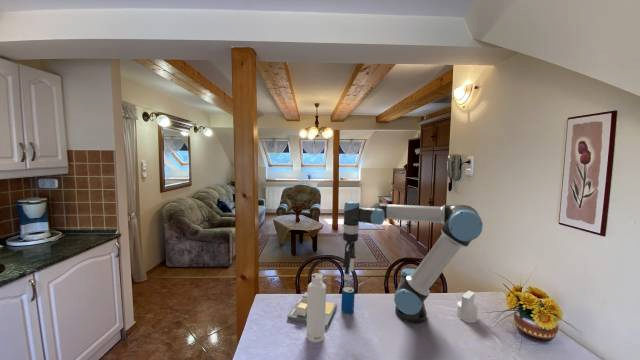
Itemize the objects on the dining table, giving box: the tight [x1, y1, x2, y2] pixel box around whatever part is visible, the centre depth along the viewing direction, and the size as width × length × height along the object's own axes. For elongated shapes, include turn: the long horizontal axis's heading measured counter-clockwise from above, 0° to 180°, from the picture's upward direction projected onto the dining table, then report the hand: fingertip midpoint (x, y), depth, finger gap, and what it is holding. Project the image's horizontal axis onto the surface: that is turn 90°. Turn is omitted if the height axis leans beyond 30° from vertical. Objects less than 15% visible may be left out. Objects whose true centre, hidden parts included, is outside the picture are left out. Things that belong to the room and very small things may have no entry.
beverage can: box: [340, 286, 356, 315], centre depth 134 cm, size 6×6×12 cm
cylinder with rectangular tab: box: [456, 290, 479, 323], centre depth 132 cm, size 9×9×12 cm
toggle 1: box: [297, 302, 307, 316], centre depth 127 cm, size 4×4×4 cm
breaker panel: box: [287, 296, 338, 330], centre depth 131 cm, size 20×18×2 cm
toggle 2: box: [302, 291, 308, 304], centre depth 137 cm, size 4×4×4 cm
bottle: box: [305, 272, 327, 343], centre depth 114 cm, size 8×8×28 cm
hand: (348, 274), depth 132 cm, fingers open, 10 cm apart
